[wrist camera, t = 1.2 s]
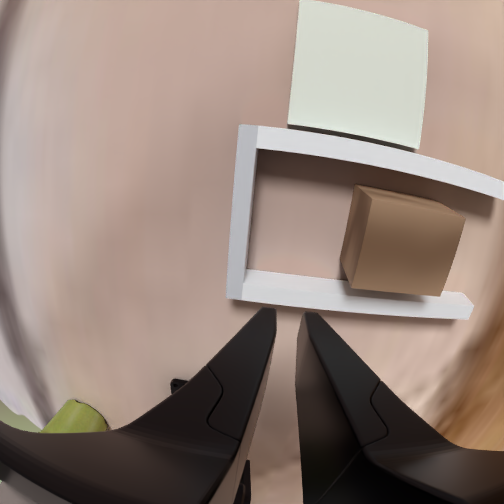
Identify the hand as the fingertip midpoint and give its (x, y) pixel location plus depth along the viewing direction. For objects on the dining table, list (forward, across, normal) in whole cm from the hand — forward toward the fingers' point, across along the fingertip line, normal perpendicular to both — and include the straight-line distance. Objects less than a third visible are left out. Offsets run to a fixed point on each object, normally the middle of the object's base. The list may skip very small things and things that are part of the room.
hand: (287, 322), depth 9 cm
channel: (+11, -6, 0) cm, 13 cm away
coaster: (+11, -4, -10) cm, 15 cm away
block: (+11, -7, 0) cm, 13 cm away
